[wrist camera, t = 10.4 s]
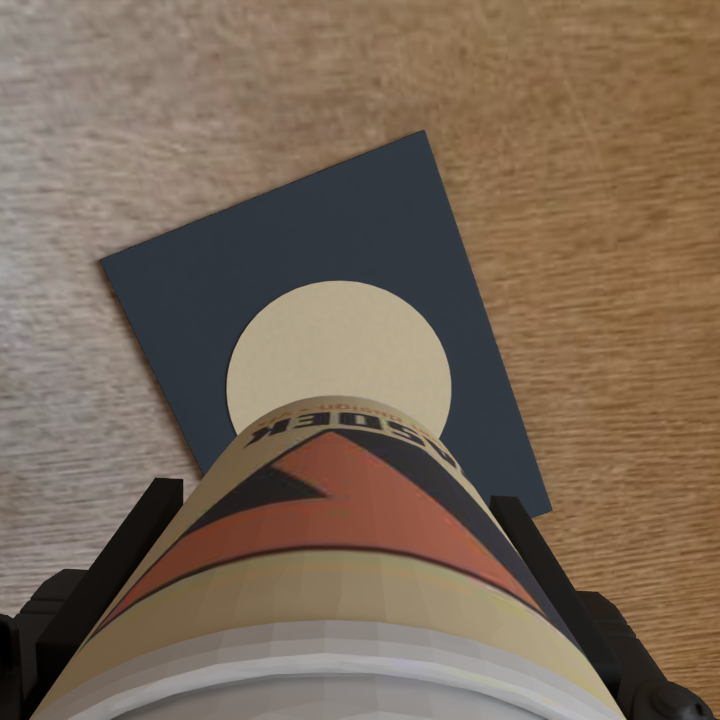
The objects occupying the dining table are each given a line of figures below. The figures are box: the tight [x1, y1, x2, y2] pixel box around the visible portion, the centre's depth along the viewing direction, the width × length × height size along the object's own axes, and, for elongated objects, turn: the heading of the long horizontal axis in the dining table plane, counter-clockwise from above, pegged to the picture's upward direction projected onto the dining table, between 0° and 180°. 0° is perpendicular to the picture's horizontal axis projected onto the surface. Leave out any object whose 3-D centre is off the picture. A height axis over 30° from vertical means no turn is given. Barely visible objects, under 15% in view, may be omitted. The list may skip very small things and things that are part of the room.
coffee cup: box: [29, 395, 626, 720], centre depth 12 cm, size 9×9×12 cm
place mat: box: [100, 130, 552, 518], centre depth 29 cm, size 20×16×1 cm
